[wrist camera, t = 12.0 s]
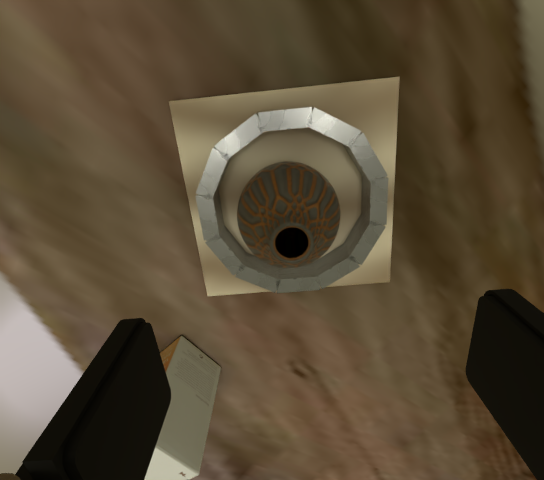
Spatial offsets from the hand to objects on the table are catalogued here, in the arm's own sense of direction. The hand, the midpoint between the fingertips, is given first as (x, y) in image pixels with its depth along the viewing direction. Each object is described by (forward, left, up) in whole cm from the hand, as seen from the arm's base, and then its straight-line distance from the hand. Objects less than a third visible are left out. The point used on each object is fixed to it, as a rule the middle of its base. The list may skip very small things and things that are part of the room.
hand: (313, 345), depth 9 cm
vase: (0, 0, -17) cm, 17 cm away
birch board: (0, 0, -18) cm, 18 cm away
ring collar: (0, 0, -17) cm, 17 cm away
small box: (+17, -13, -18) cm, 28 cm away
